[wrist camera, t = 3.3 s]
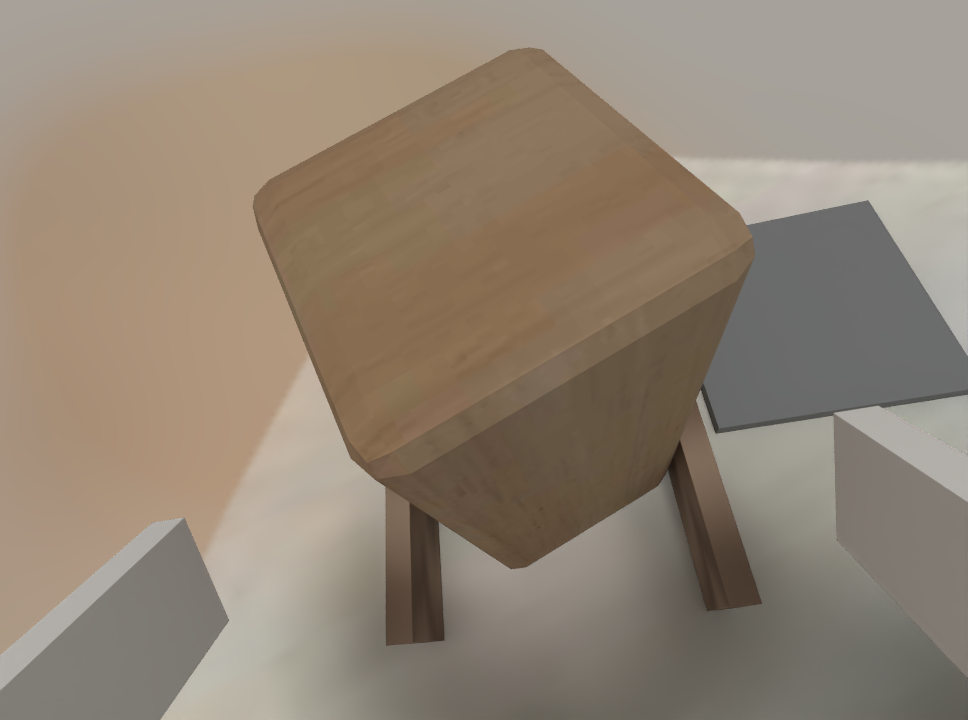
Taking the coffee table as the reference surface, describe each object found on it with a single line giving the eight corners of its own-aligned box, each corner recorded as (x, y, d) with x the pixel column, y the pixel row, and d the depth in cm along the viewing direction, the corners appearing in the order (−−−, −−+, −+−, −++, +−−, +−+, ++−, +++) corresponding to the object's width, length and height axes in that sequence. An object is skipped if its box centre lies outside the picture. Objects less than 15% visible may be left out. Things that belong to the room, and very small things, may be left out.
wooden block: (432, 426, 32) (228, 183, 14) (569, 346, 32) (532, 20, 15) (512, 579, 27) (346, 487, 9) (671, 480, 27) (791, 225, 10)
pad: (976, 393, 26) (986, 386, 26) (716, 433, 28) (718, 428, 27) (862, 209, 33) (868, 200, 32) (655, 251, 34) (656, 243, 34)
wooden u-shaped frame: (733, 608, 24) (761, 603, 20) (421, 642, 26) (386, 645, 22) (644, 311, 32) (651, 263, 28) (412, 355, 34) (385, 316, 30)
